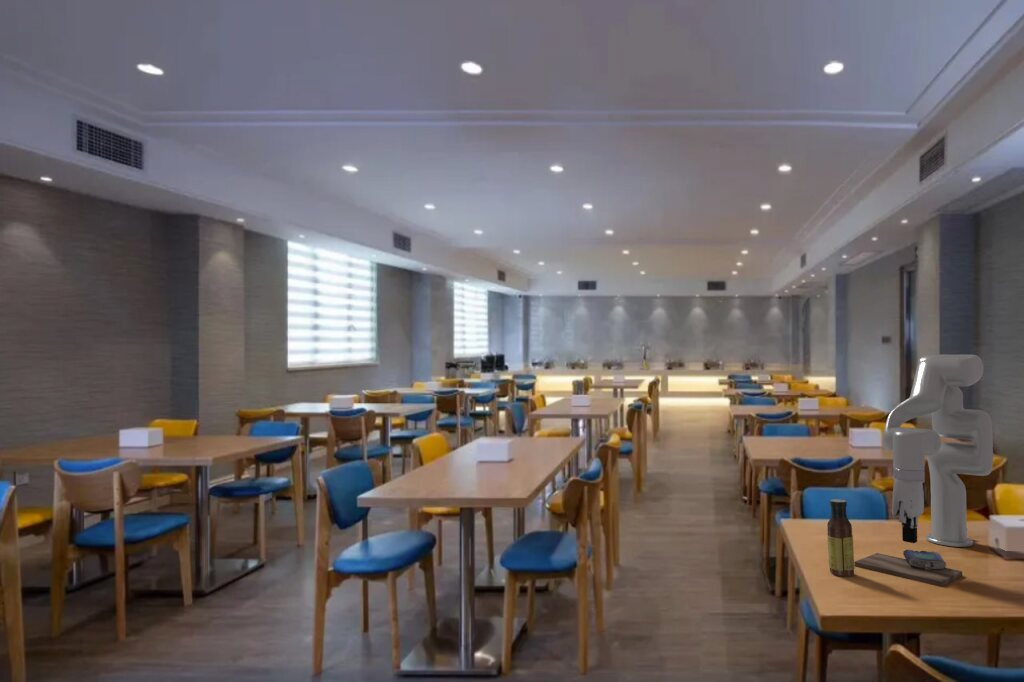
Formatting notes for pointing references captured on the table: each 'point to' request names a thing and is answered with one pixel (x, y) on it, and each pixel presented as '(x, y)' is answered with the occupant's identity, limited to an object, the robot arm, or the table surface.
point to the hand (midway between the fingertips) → (909, 541)
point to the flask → (924, 559)
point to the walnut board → (907, 569)
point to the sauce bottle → (840, 540)
